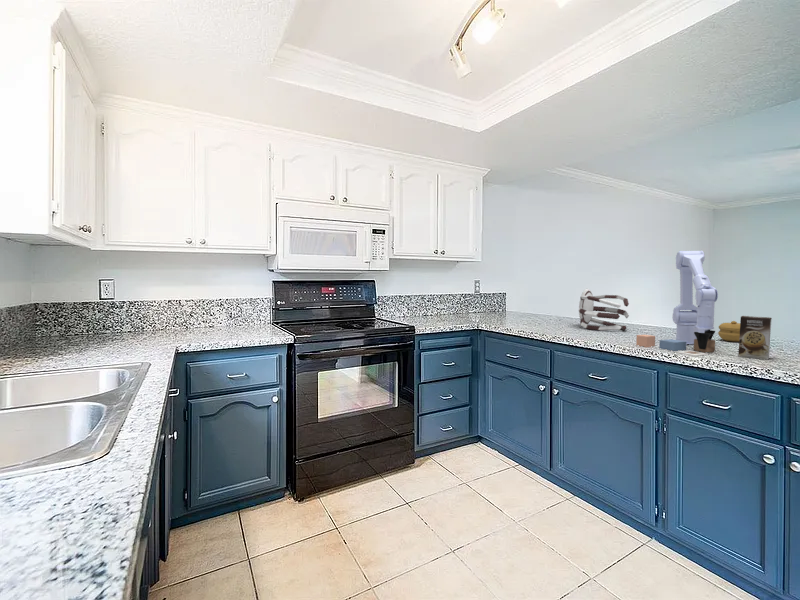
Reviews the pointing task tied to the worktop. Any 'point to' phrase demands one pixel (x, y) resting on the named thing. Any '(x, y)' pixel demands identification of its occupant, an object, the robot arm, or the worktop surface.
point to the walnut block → (709, 347)
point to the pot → (730, 331)
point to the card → (692, 353)
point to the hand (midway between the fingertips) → (704, 347)
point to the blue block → (672, 345)
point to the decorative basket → (588, 307)
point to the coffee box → (754, 337)
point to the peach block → (645, 340)
